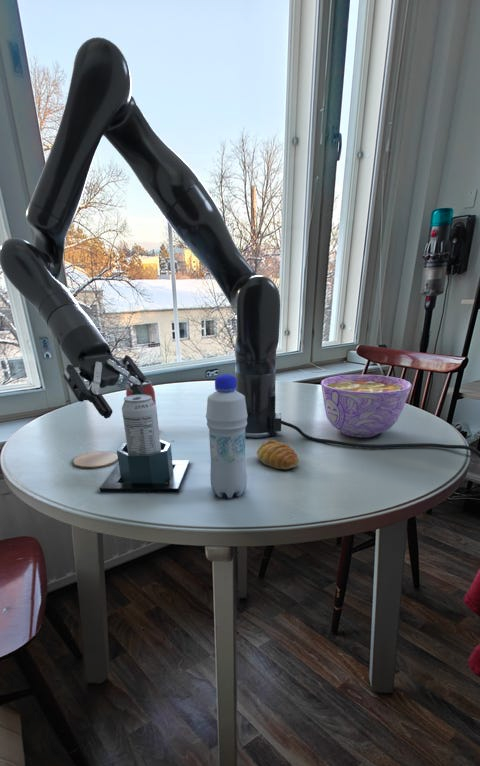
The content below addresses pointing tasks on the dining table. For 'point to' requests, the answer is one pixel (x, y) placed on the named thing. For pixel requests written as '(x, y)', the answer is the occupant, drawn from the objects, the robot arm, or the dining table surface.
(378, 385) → the bowl of food
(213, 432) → the bottle
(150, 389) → the beer can
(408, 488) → the dining table surface
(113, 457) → the cork coaster
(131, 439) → the energy drink can
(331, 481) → the dining table surface
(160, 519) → the dining table surface
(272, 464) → the pastry
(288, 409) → the dining table surface
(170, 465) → the can holder
